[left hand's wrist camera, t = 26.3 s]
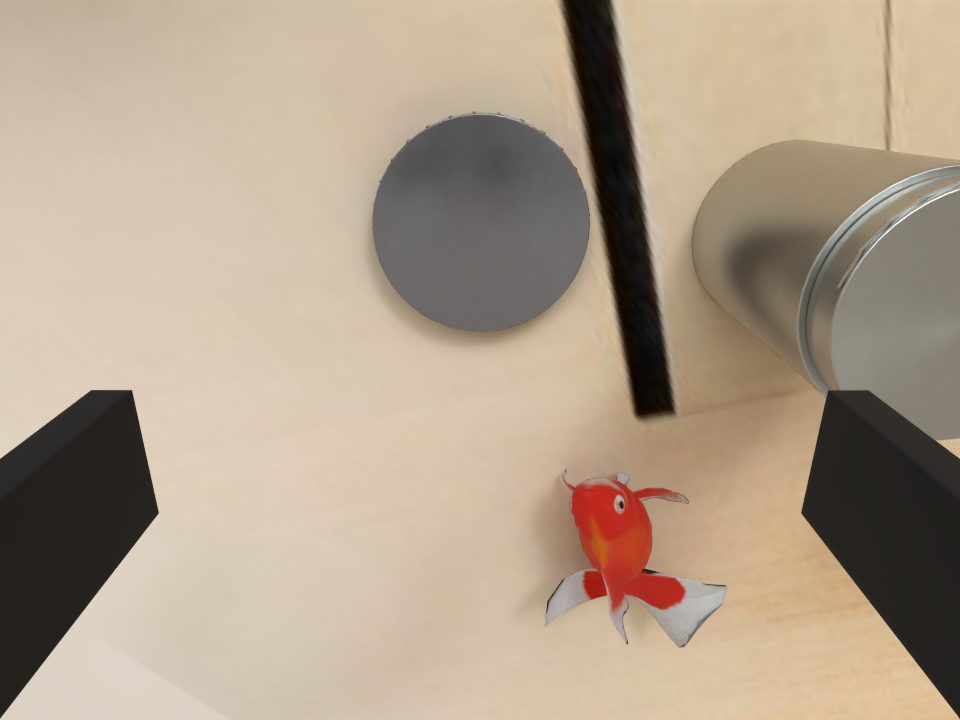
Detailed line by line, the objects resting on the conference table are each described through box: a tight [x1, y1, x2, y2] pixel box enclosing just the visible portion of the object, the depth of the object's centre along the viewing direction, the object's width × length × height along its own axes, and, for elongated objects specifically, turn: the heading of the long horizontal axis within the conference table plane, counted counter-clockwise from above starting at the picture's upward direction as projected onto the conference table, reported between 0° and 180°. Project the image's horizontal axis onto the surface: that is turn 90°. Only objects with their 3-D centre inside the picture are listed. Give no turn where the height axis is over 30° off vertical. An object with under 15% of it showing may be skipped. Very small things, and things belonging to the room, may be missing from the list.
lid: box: [373, 111, 590, 332], centre depth 35 cm, size 12×12×2 cm
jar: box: [692, 140, 960, 440], centre depth 30 cm, size 10×10×15 cm
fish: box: [545, 470, 728, 648], centre depth 40 cm, size 11×16×10 cm
